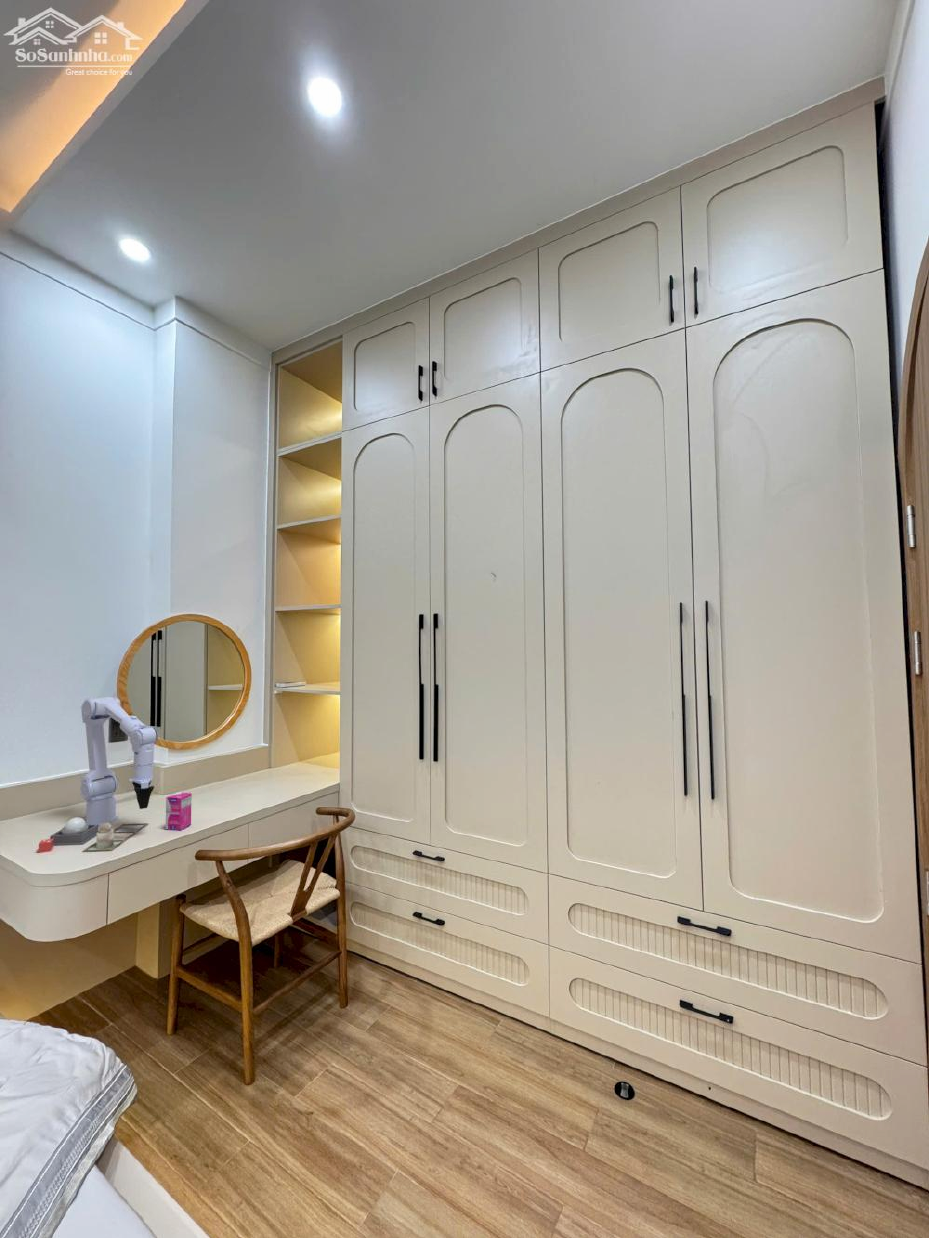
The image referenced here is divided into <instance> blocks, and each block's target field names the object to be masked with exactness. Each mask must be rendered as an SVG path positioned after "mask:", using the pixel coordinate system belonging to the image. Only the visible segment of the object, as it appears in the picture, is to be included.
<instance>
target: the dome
mask: <svg viewBox="0 0 929 1238" xmlns="http://www.w3.org/2000/svg"><path fill="white" fill-rule="evenodd" d="M61 830H62V835H69V834H82V833H84V832H85V831H87V830H88V824H86V819H84V818H81V817H76V816H75V817H73V818H71V819H69V820H68V821H67V822H66V823H65V825H64V827H63V828H61Z"/></svg>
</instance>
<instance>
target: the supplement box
mask: <svg viewBox="0 0 929 1238" xmlns="http://www.w3.org/2000/svg"><path fill="white" fill-rule="evenodd" d="M192 797H193V796H192V793H191V792H181V791H180V792H179V791H177V792H175V793H173V794H171V795H169V796H166V798H165V831H174V832H182V831H183V830H185V829H187V828H189V827H191V826H192V799H193V798H192ZM190 825H191V826H190Z"/></svg>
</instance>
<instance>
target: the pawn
mask: <svg viewBox="0 0 929 1238" xmlns="http://www.w3.org/2000/svg"><path fill="white" fill-rule="evenodd" d="M114 830H115V829H113V828H112V824H111V822H110V823H103V824H101V825H100V826H99V827H98V832H97V836H96V842H97V847H96V848H97V849H104V848H108V847H111V846H113V844H114Z"/></svg>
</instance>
